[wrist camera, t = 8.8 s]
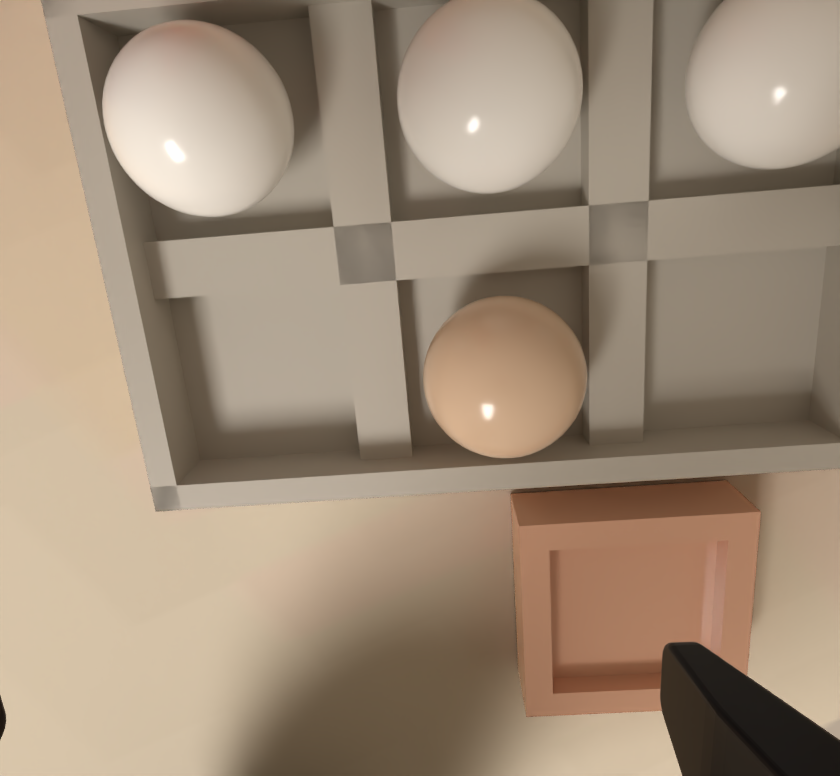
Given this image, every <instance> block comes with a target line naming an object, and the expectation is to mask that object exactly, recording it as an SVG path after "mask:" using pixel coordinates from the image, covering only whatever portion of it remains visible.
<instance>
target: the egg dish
mask: <svg viewBox="0 0 840 776" xmlns="http://www.w3.org/2000/svg"><path fill="white" fill-rule="evenodd" d="M760 516H761V512H760V511H759V510H758V509H757V508H756V507H755V506H754V505H753V504H752V503H751V502H750V501H749V500H748V499H747V498H745V497H744V496H743V495H742V494H741V493H740V492H739V491H738V490H737V489H736V488H735V487H734V486H733V485H731V484H730V483H729V482H728V481H727V480H725V481H709V482H693V483H677V484H660V485H644V486H628V487H612V488H596V489H580V490H564V491H548V492H532V493H516V494H511V517H512V540H513V563H514V587H515V610H516V634H517V657H518V672H519V678H520V683H521V689H522V694H523V700H524V705H525V711H526V717H534V716H556V715H578V714H600V713H622V712H644V711H662V708H661V702H660V686H661V669H662V653H663V649H664V646H665V645H666V644H668V643H670V642H697V643H699V644H701V645H703V646H704V647H706V648H707V649H709V650H710V651H712V652H713V653H715V654H716V655H717V656H719V657H720V658H722V659H723V660H725V661H726V662H728V663H729V664H731V665H732V666H733V667H735V668H736V669H738V670H739V671H741V672H742V673H744V674H745V675H746V676H747V670H748V658H749V646H750V634H751V623H752V611H753V599H754V587H755V575H756V564H757V552H758V540H759V528H760Z"/></svg>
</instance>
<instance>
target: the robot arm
mask: <svg viewBox="0 0 840 776" xmlns="http://www.w3.org/2000/svg"><path fill="white" fill-rule="evenodd" d="M660 702H661V708H662V713H663V716H664V720H665V723H666V726H667V729H668V732H669V735H670V738H671V741H672V745H673V748H674V751H675V754H676V757H677V760H678V763H679V766H680V770H681V773H682V776H840V740H839V739H838V738H836V737H835V736H833V735H832V734H830V733H829V732H827V731H826V730H825V729H823V728H822V727H820V726H819V725H817V724H816V723H814V722H813V721H812V720H810V719H809V718H807V717H806V716H804V715H803V714H801V713H800V712H798V711H797V710H796V709H794V708H793V707H791V706H790V705H788V704H787V703H785V702H784V701H783V700H781V699H780V698H778V697H777V696H775V695H774V694H772V693H771V692H770V691H768V690H767V689H765V688H764V687H762V686H761V685H759V684H758V683H757V682H755V681H754V680H752V679H751V678H749V677H748V676H746V675H745V674H744V673H742V672H741V671H739V670H738V669H736V668H735V667H733V666H732V665H731V664H729V663H728V662H726V661H725V660H723V659H722V658H720V657H719V656H717V655H716V654H715V653H713V652H712V651H710V650H709V649H707V648H706V647H704V646H703V645H701V644H699V643H697V642H670V643H668V644H666V645H665V646H664V649H663V653H662V669H661V686H660ZM5 724H6V713H5V710H4V706H3V703H2V700H1V696H0V739H1V737H2V735H3V732H4V729H5Z"/></svg>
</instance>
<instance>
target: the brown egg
mask: <svg viewBox="0 0 840 776" xmlns="http://www.w3.org/2000/svg"><path fill="white" fill-rule="evenodd" d="M423 386H424V393H425V397H426V400H427V403H428V407H429V409H430V411H431V413H432V415H433V417H434V419H435V420H436V422H437V423H438V425H439V426H440V427H441V428H442V429H443V431H444V432H445V433H446V434H447V435H448V436H449V437H450V438H451V439H452V440H454V441H455V442H456V443H458V444H459V445H461V446H462V447H464V448H466V449H468V450H470V451H472V452H475V453H478V454H480V455H484V456H488V457H494V458H516V457H522V456H526V455H530V454H533V453H535V452H538V451H540V450H542V449H544V448H546V447H547V446H549V445H551V444H552V443H553V442H555V441H556V440H557V439H559V438H560V437H561V436H562V435H563V434H564V433H565V432H566V431H567V430H568V428H569V427H570V426H571V425H572V423H573V422H574V420H575V419H576V417H577V415H578V413H579V411H580V409H581V406H582V403H583V400H584V397H585V392H586V387H587V366H586V361H585V357H584V353H583V350H582V347H581V345H580V342H579V340H578V339H577V337H576V335H575V333H574V332H573V331H572V329H571V328H570V327H569V325H568V324H567V323H566V322H565V321H564V320H563V319H562V318H561V317H560V316H559V315H558V314H556V313H555V312H554V311H553V310H551V309H550V308H548V307H546V306H544V305H543V304H540V303H538V302H535V301H533V300H530V299H526V298H522V297H517V296H494V297H487V298H484V299H480V300H477V301H475V302H473V303H470V304H468V305H466V306H464V307H463V308H461V309H459V310H458V311H457V312H455V313H454V314H453V315H451V316H450V317H449V318H448V319H447V320H446V321H445V322H444V323H443V324H442V326H441V327H440V328H439V330H438V331H437V332H436V334H435V336H434V337H433V339H432V341H431V343H430V346H429V348H428V351H427V354H426V358H425V362H424V369H423Z"/></svg>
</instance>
